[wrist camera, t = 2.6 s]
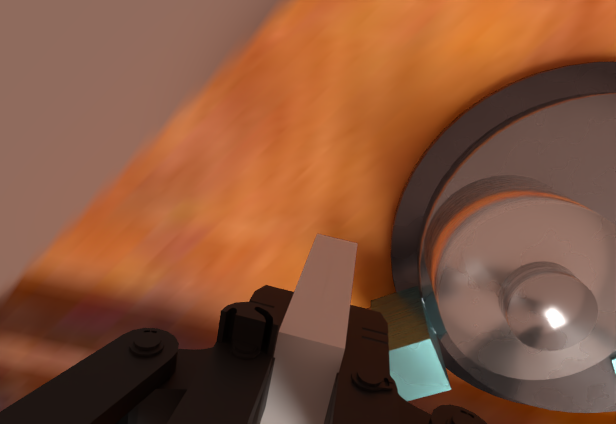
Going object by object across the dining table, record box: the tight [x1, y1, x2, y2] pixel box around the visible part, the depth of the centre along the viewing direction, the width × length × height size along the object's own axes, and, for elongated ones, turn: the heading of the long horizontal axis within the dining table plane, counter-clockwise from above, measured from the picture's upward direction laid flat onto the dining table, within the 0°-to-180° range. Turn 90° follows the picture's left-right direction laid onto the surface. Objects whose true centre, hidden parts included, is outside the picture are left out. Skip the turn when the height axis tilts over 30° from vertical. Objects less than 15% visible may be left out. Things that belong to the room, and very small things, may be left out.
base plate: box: [391, 62, 616, 405], centre depth 25 cm, size 21×21×1 cm
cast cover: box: [424, 175, 616, 380], centre depth 20 cm, size 8×8×7 cm
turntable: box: [367, 92, 616, 413], centre depth 22 cm, size 22×18×6 cm
